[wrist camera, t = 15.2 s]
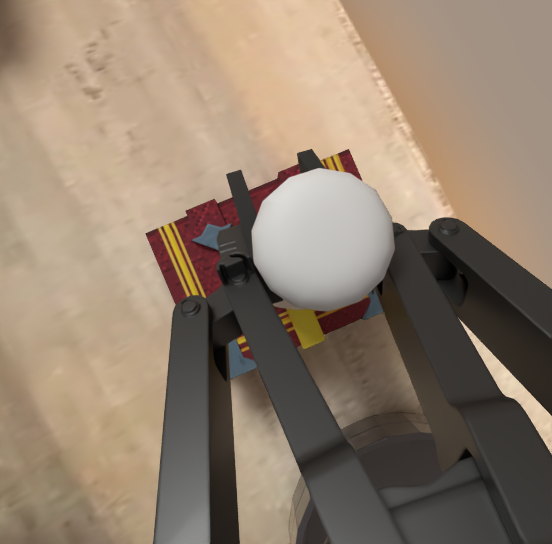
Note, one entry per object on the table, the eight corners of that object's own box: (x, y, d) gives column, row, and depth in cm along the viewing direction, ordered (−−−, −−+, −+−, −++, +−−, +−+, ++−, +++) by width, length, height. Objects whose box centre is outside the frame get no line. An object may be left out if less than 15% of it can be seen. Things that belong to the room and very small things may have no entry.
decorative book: (160, 238, 27) (137, 228, 22) (349, 159, 28) (367, 133, 23) (217, 372, 27) (207, 393, 22) (405, 290, 28) (436, 292, 23)
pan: (255, 584, 27) (253, 636, 23) (339, 378, 28) (352, 394, 24) (455, 663, 28) (488, 728, 24) (534, 459, 28) (579, 489, 24)
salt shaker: (321, 205, 23) (398, 106, 10) (348, 290, 23) (461, 303, 10) (234, 232, 23) (195, 167, 10) (261, 318, 23) (259, 369, 10)
